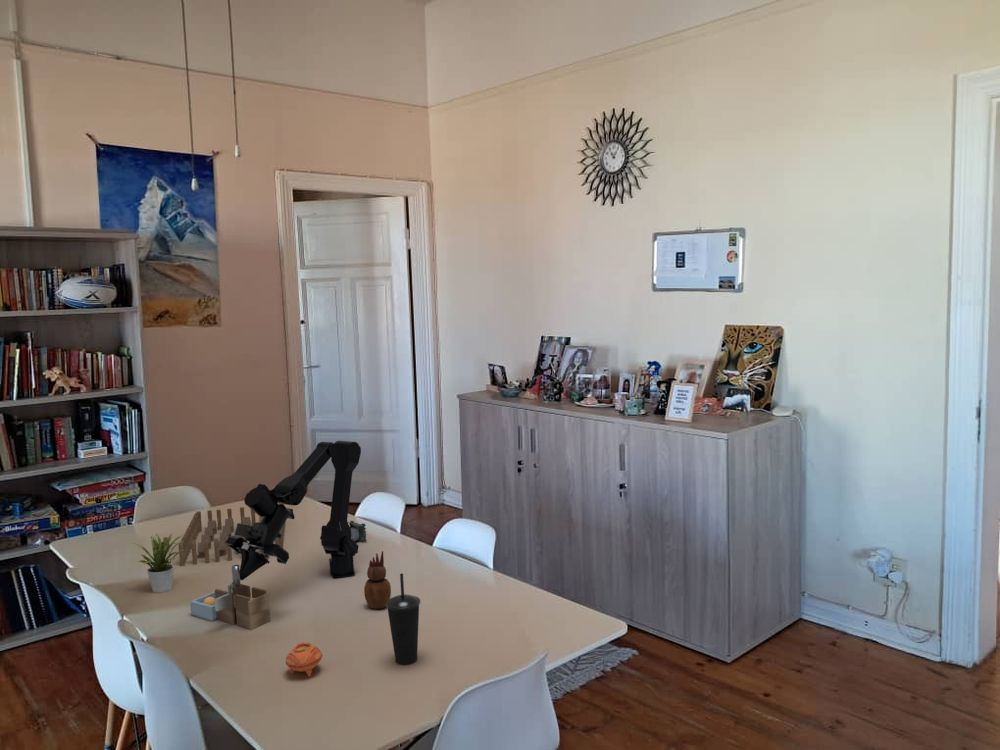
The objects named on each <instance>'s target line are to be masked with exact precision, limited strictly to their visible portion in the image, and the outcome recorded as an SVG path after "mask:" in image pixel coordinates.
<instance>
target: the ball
mask: <svg viewBox="0 0 1000 750" xmlns="http://www.w3.org/2000/svg"><path fill="white" fill-rule="evenodd" d="M203 603H204V604H208V605H211V606H213V605H215V598H213V597H208V598H206V599H205V600H204V601H203Z"/></svg>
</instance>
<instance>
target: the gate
mask: <svg viewBox="0 0 1000 750" xmlns="http://www.w3.org/2000/svg"><path fill="white" fill-rule="evenodd" d="M231 574H232V575H231V576H232V583H233V584H232V583H231V584H229V585H227V592H228V594H225V595H223V596H221V597H218V598H216V599H215V611H219V610H222V609H224V608H226V607H229V606H231V605H233V602H232V588H239V587H240V586H241V584H242V583H241V580H240V565H239V564H233V565H231Z"/></svg>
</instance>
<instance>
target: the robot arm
mask: <svg viewBox="0 0 1000 750" xmlns="http://www.w3.org/2000/svg"><path fill="white" fill-rule="evenodd" d="M361 454H362V447H361V446H360V444H359V443H358V442H357V441H349V440H337V441H335V442H332V441H321V442H318V443H317V444H316V447H315V449H314V450H313V451H312V452H311V453H310V454H309V456H308V457H307V458H306V459H305V460H304V461H303V462H302V464H301V465H300V466H299V467H298V468H297V469H296V470H295V472H293V473H292V474H291V475H289V476H287V477H284V478H283V479H281V481H279V482H278V483H277V484H276V485H275V487H273V488H271V489H270V488H268V486H267V485H266V484H262V483H258V484H257V487H254V488H252V489H251V490H250V491H248V492H247V493H246V494H245V496H244V499H243V500H244V504H245V505H246V506H247V507H248V508H249V509H250V511H251V510H253V511H254V512H255V515H257V516H261V517H263V516H264V517H263V518H262V520H261V522H260V523H258V521H256V523H254V525H253V526H252V525H251V526H250V525H244V524H241V523H236V528H235V530H234V535H232V536H230V537H228V539H227V541H226V542H225V544H226V545H227V546H229V547H230V548H231V550H232V551H234V552H235V553H236V554H237V553H239V554H238V555H241V559H240V560H241V561H240V562H241V563H240V565H239V570H240V581H244V580H245V579H247V578H248V577H249V576H251V575H252V574H253V573H254V572H256V571H257V570H259V569H260V568H262V567H264V566H265V565H266V564H270V563H271V561H270V558H271V557H275V558H276V561H277V563H279V564H283V565H287V562H288V561H289V559H290V553H289V551H287V550H286V549H284V547H283V548H282V547H281V546H280V545H277V544H275V540H276V538H279V539H280V538H281V536H282V535H281V534H280V533H279V532H280V531H281V529H282V527H283V525H284V524H285V525H286V523H285V522H287V520H288V519H290V520H294V519H296V517H295V514H294V509H293V508H290V507H286V506H285V505H288V506H299V505H300V504H301V503H302V501H303V499H304V498H305V496H306V495H307V493H308V485H309V484H310V483H311V482H312V481H313V480H314V478H315V477H316V476H317V475H318V473H319V472H320V471H321V470H322V469H323V467H324V466H326V464H327V462H328V461H330V460H331V461H330V462H331V463H332V465H333V468H334V478H333V479H334V480H333V488H332V498H331V508H330V514H329V516H330V517H329V520H328V522H327V523H326V525H323V524H322V526H321V527H320V528H321V529H320V530H321V534H320V537H319V540H320V544H321V546H322V547H323V550H324V553H325V554H326V555H330V558H329V559H328V565H329V566H328V567H329V569H328V570H329V574H330V576H332V579H339V578H344V577H345V578H346V577H353V576H356V572H355V566H354V565H355V564H354V557H355V556H356V554H358V553H359V545H358V544H357V543H356V541H353V540H352V539H351V529H350V525H349V523H348V522H349V521H348V517H349V516H348V515H349V507H350V506H349V505H350V497H351V488H352V480H353V479H352V478H353V472H354V470H355V469H356V467H357V466H358V465H359V463H360V459H361ZM282 504H284V505H282ZM238 535H239V536H242V537H245V538H244V539H245V540H247V541H245V540H244V539H243V538H242V537H238Z"/></svg>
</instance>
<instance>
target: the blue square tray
mask: <svg viewBox="0 0 1000 750" xmlns="http://www.w3.org/2000/svg"><path fill="white" fill-rule="evenodd" d="M208 597H213V598H215V590H214V591H213V592H210V593H207V594H205V595H203V596H200V597H198V598H195V599H193V600H189V604H190V615H191V616H193V617H197V618H199V619H201V620H202V619H203V620H207V621H209V622H215V621H218V620H217V612H216V611H215V605H213V606H211V605H208V604H204V603H203V601H204V600H205V599H206V598H208Z"/></svg>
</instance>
